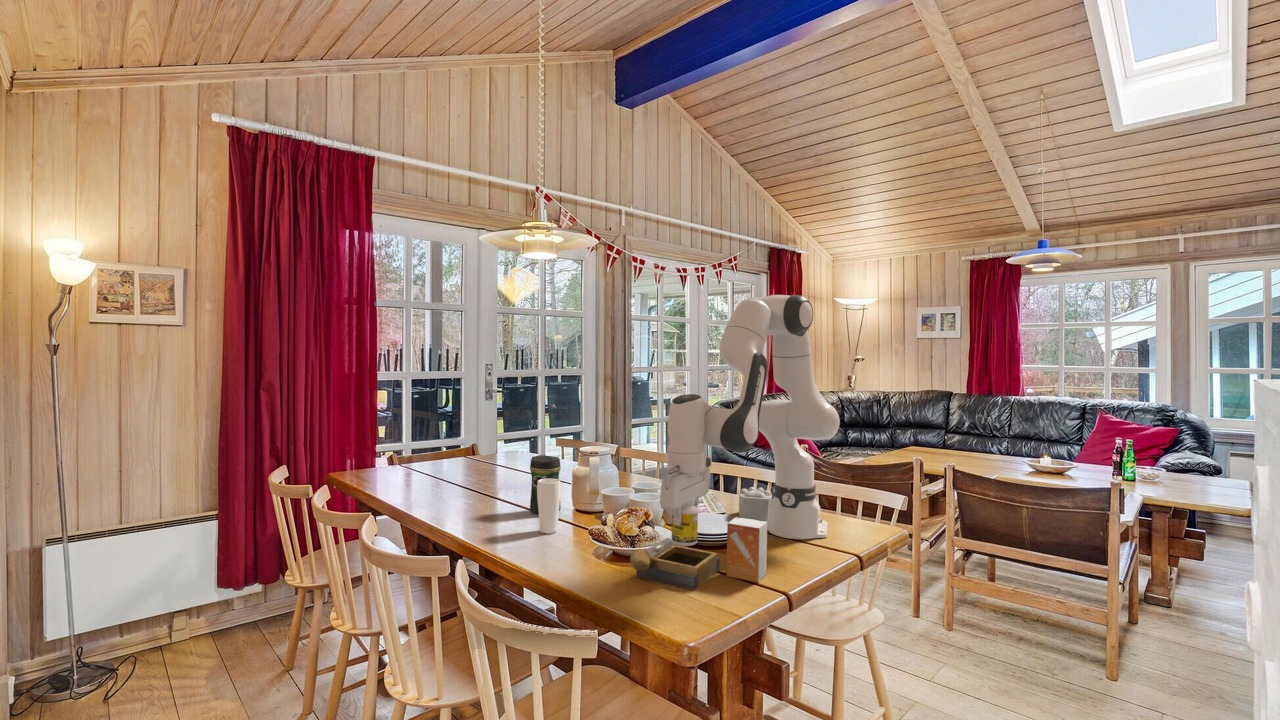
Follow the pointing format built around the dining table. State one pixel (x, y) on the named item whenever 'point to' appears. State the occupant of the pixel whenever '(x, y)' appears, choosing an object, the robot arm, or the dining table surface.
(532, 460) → the coffee jar
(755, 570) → the small box
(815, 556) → the dining table surface
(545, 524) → the drinking glass
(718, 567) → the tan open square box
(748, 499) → the lumpy-topped squat cylinder
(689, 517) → the pill bottle
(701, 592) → the dining table surface
